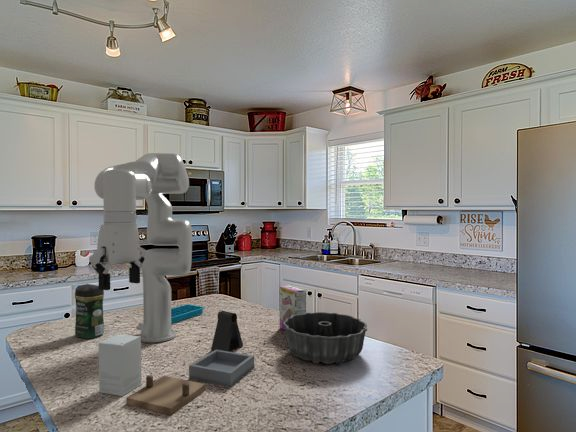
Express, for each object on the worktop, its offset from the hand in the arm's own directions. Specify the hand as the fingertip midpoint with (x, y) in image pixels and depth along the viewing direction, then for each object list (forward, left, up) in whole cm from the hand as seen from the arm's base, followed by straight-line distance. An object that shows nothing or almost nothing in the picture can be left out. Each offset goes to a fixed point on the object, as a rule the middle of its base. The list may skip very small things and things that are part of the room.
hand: (120, 286), depth 98 cm
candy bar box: (+23, +60, -26) cm, 69 cm away
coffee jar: (-43, +27, -26) cm, 57 cm away
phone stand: (+10, +35, -26) cm, 45 cm away
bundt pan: (+41, +43, -27) cm, 65 cm away
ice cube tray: (-29, +60, -27) cm, 72 cm away
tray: (+19, +18, -26) cm, 37 cm away
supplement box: (0, 0, -26) cm, 26 cm away
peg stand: (+14, +1, -26) cm, 30 cm away
